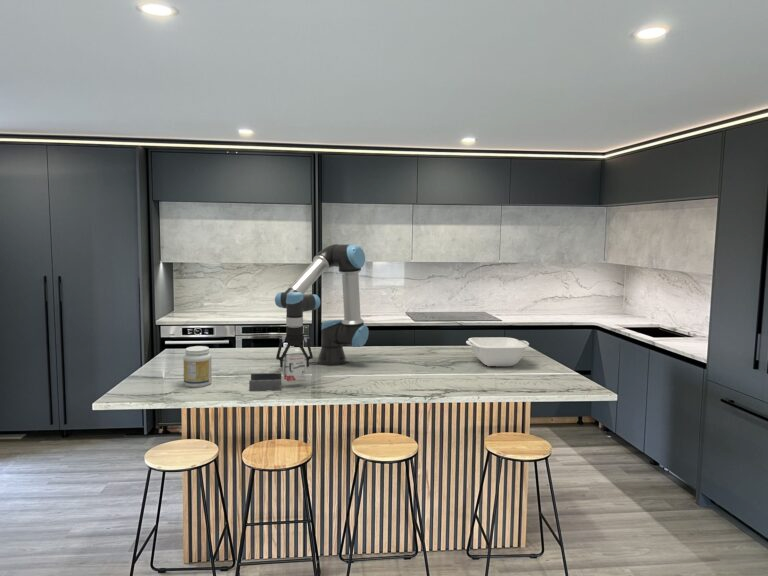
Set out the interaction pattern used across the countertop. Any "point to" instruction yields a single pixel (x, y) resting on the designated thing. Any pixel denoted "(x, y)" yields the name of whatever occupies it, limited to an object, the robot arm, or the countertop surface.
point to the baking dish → (498, 350)
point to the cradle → (265, 381)
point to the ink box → (294, 366)
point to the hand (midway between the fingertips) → (294, 373)
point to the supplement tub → (197, 366)
